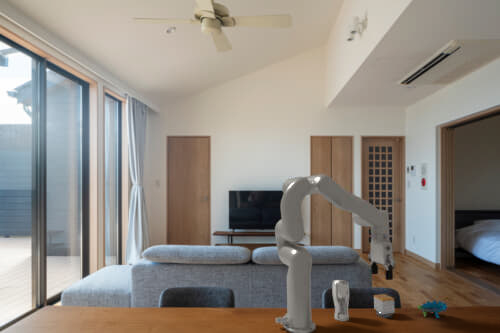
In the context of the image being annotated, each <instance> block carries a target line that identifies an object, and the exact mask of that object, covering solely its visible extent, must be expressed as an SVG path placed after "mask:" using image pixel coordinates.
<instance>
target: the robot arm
mask: <svg viewBox="0 0 500 333" xmlns="http://www.w3.org/2000/svg"><path fill="white" fill-rule="evenodd" d="M281 190H282V193H283V194H282V198H281V200H280V215H281V216H280V217H281V218H280V220H278V222H277V223H276V224H275V226H274V236H275V241H276V242H275V243H276V247H277V249H276V250H277V254H278V257H279V260H280V261H281V263H282V264H284V265H286V266H287V267H288V270H287V274H286V307H287V308H286V310H287V311H286V312H287V313H284V315H283V316H282V317H281V316H280V317H275V323H276V324H281V325H282V326H283V328H284V329H285V330H286V331H287V332H290V333H312V332H314V331H316V328H317V327H316V326H317V325H316V323H315V322H314V321H313V320H312V294H311V293H312V289H311V274H312V272H311V271H312V265H313V258H312V255H311V253H310V251H309V250H308V249H307V248H306V247H304V246H302V245H298V243H301V242H302V241H303V240H304V238H305V235H306V234H305V233H306V232H305V227H304V220H303V214H302V204H303V201H304V199H305V198H306V196H309V195H317V194H318V195H320V196H322V197H323V198H324V199H326V200H327V202H329V203H331V204H332V205H333V206H334V207H336V208H338V209H340V210H342V211H346V212H349V213H352V216H351V217H352V221H353V222H354V223H355V224H356V225H357V226H360V227H361V226H362V227H367V228H368V227H369V228H370V235H371V237H370V240H371V241H370V252H368V254H367V256H368V260H369V264H370V273H371V274H372V275H378V274H379V266H378V264H380V265H383V266H384V268H385V270H384V271H385V272H384V273H385V274H384V275H385V280H387V281H390V280H391V281H392V280H394V274H393V273H394V272H393V271H394V269H395V267H396V264H397V261H396V260H395V258H394V254H393V252H394V251H393V246H392V242H391V241H390V220H389V216H390V215H389V212H388V211H387V210H385V209H378V208H377V207H376V206H374V205H373V203H371V202H369V201H367V200H365V199H364V198H361V197H360V196H357V195H356V194H353V193H351V192H349V191H348V190H347V189H345V188H344V187H343V186H342V185H340V184H339V183H338V182H337V181H335V180H334V179H333V178H332V177H330V176H329V175H327V174H323V173H321V174H314V175H313V174H312V175H309V176H296V177H292V178H291V177H290V178H288V179H286V180H284V182H283V183H282V186H281Z"/></svg>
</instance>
